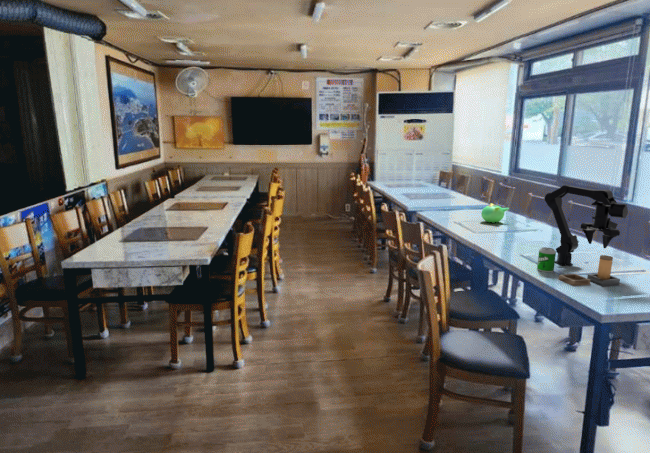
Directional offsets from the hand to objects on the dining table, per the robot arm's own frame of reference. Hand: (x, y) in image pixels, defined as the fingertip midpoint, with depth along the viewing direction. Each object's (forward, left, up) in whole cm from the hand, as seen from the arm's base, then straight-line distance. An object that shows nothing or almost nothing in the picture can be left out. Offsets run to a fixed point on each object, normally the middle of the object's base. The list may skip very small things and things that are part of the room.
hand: (597, 245), depth 223 cm
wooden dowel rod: (+18, -12, -12) cm, 25 cm away
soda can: (-3, -26, -13) cm, 29 cm away
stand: (+15, -25, -13) cm, 32 cm away
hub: (+18, -12, -13) cm, 25 cm away
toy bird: (-123, +22, -13) cm, 126 cm away
